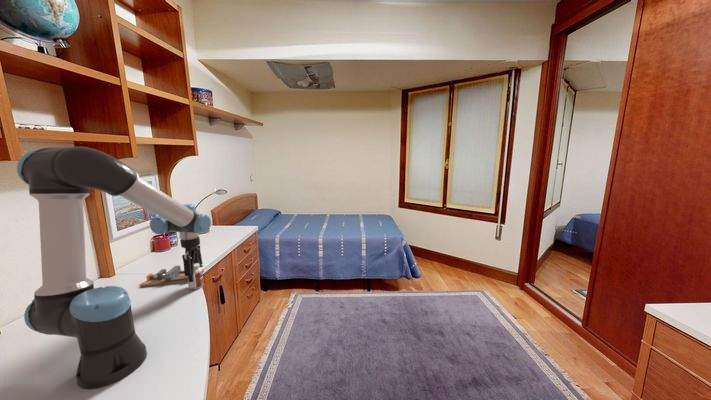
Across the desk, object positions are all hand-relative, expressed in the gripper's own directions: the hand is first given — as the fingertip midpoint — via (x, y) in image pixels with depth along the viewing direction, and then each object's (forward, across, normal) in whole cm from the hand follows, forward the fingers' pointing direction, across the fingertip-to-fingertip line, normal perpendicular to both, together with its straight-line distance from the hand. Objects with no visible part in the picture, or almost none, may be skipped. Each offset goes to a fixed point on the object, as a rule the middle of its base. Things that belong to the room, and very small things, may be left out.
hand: (196, 283), depth 123 cm
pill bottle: (+2, 0, 0) cm, 2 cm away
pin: (0, +12, +23) cm, 26 cm away
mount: (+2, +12, +15) cm, 20 cm away
